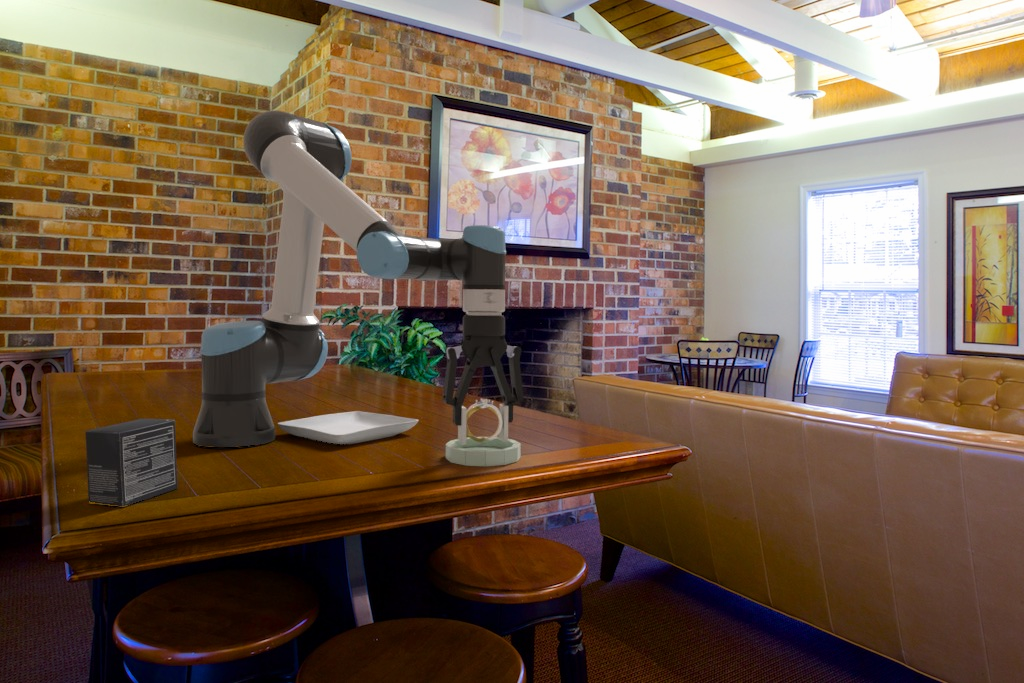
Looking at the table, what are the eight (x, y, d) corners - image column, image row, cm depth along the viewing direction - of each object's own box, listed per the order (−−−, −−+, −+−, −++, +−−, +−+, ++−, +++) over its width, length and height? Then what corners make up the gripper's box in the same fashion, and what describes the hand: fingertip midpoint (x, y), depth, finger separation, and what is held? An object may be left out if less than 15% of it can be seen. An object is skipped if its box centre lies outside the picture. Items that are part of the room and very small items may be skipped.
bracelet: (502, 441, 132) (502, 397, 131) (502, 445, 129) (503, 400, 128) (463, 441, 132) (463, 397, 131) (463, 445, 128) (463, 400, 128)
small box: (144, 485, 110) (142, 416, 109) (179, 489, 108) (178, 419, 107) (84, 504, 100) (82, 428, 99) (123, 508, 98) (121, 431, 97)
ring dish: (458, 468, 122) (458, 453, 122) (438, 452, 134) (438, 439, 134) (530, 463, 126) (530, 448, 126) (505, 448, 139) (505, 435, 138)
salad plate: (274, 437, 149) (273, 421, 149) (356, 423, 165) (356, 408, 165) (338, 452, 136) (338, 434, 135) (421, 435, 152) (421, 419, 152)
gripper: (434, 314, 122) (433, 449, 123) (544, 314, 129) (542, 442, 130) (423, 313, 129) (423, 441, 130) (528, 313, 136) (527, 434, 137)
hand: (483, 441), depth 130 cm, fingers closed on bracelet, 7 cm apart
